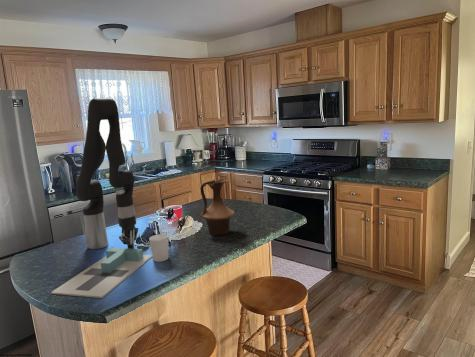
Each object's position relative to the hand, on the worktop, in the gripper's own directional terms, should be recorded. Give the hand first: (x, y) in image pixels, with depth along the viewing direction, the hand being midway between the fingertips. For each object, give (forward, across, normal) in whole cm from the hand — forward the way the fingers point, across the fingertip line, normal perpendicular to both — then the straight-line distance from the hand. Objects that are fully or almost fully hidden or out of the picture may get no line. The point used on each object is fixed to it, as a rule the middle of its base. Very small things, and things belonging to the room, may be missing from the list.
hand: (131, 251), depth 168 cm
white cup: (+2, +2, +16) cm, 16 cm away
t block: (+1, +11, 0) cm, 11 cm away
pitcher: (+2, -33, +31) cm, 46 cm away
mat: (+2, +19, 0) cm, 19 cm away
